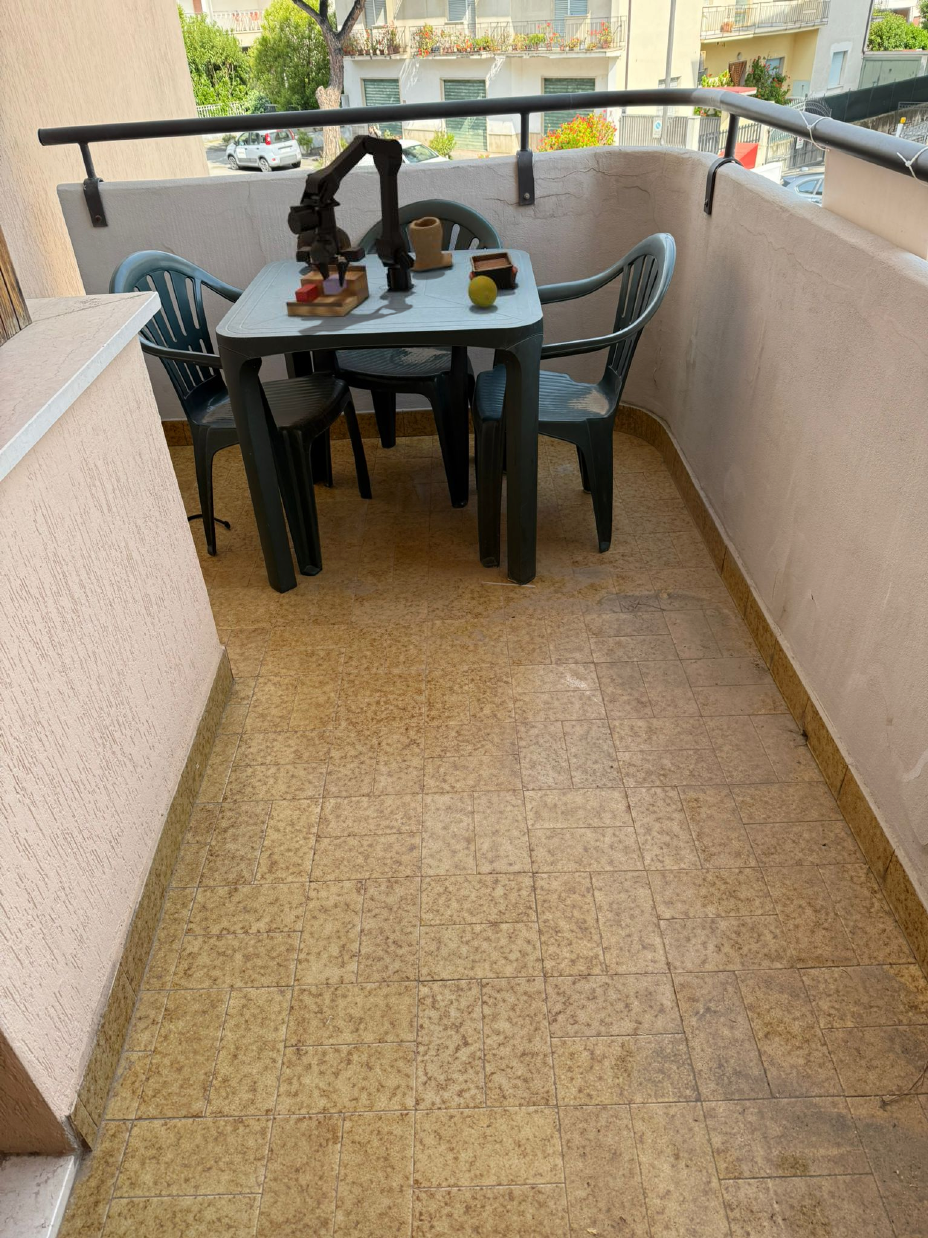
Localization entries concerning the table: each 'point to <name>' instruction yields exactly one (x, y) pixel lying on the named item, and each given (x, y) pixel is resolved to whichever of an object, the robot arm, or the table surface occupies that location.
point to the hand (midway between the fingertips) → (335, 286)
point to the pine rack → (332, 302)
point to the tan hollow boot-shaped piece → (428, 244)
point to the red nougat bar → (307, 293)
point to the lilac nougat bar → (333, 285)
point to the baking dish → (495, 269)
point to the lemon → (482, 291)
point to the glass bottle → (309, 239)
